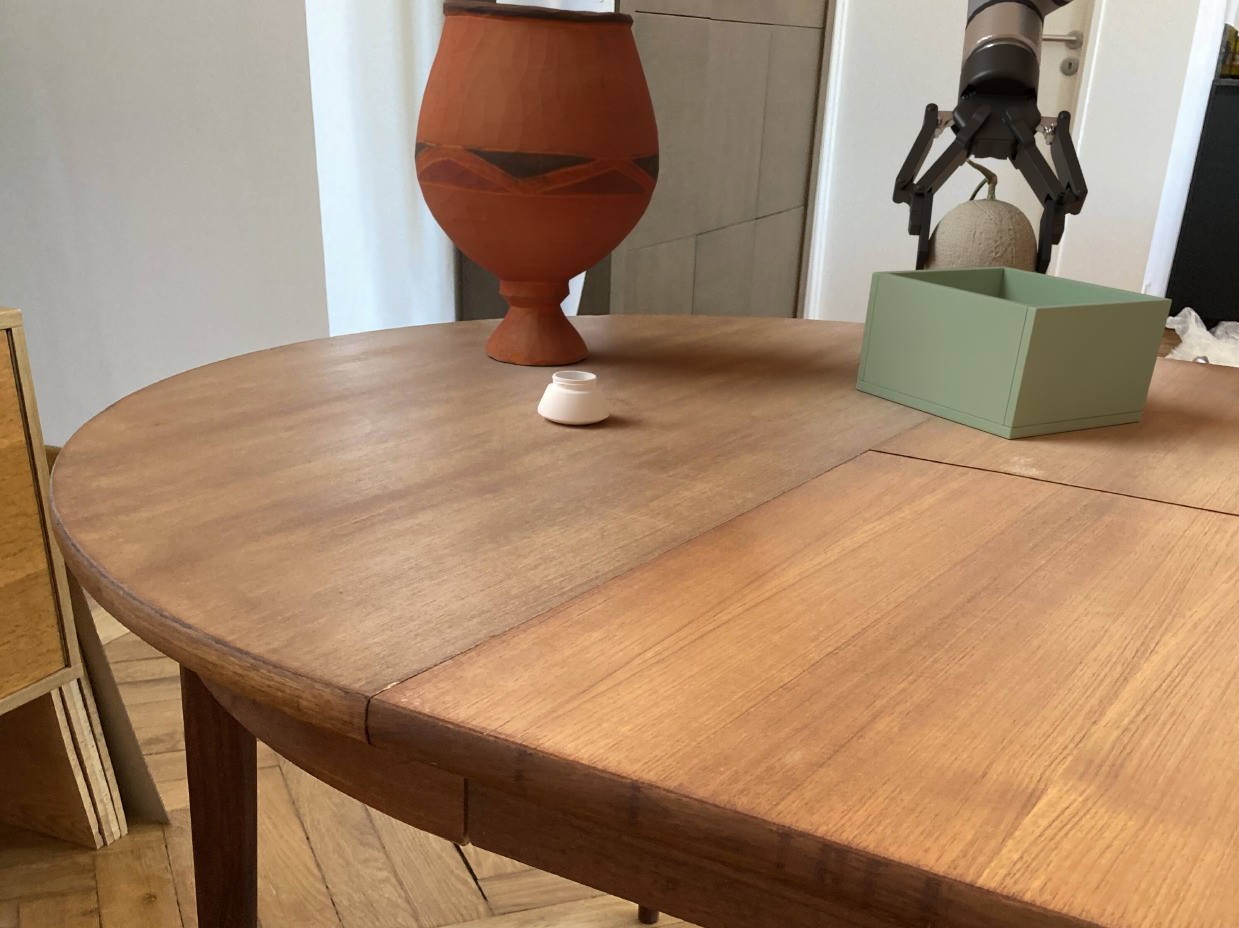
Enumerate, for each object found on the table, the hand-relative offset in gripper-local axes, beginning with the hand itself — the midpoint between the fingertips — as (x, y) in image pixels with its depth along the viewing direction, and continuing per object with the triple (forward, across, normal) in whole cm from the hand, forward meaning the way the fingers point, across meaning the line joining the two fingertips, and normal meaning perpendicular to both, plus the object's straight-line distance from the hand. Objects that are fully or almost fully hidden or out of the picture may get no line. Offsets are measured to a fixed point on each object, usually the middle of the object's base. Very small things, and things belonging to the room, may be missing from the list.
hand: (981, 265), depth 117 cm
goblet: (+21, +38, +11) cm, 44 cm away
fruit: (+2, 0, -6) cm, 7 cm away
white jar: (+35, +30, +25) cm, 53 cm away
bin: (+23, 0, +13) cm, 27 cm away
